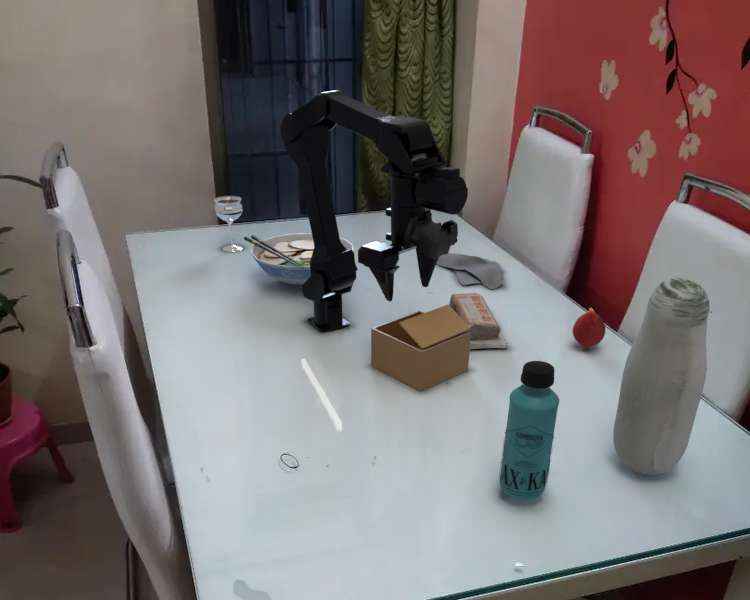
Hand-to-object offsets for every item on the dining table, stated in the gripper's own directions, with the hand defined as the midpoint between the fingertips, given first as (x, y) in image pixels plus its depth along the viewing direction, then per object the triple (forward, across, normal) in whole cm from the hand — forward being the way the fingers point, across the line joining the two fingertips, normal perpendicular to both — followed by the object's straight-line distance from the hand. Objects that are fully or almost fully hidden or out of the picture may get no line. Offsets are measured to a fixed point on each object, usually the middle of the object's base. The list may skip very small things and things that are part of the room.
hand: (407, 293), depth 137 cm
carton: (+12, -2, -4) cm, 13 cm away
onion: (+13, +27, -21) cm, 36 cm away
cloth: (+12, +44, +21) cm, 51 cm away
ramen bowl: (+12, +12, +43) cm, 46 cm away
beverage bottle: (+14, -20, -40) cm, 47 cm away
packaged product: (+13, +18, -1) cm, 22 cm away
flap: (+3, -2, -8) cm, 9 cm away
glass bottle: (+14, -2, -49) cm, 51 cm away
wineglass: (+11, +14, +72) cm, 75 cm away
